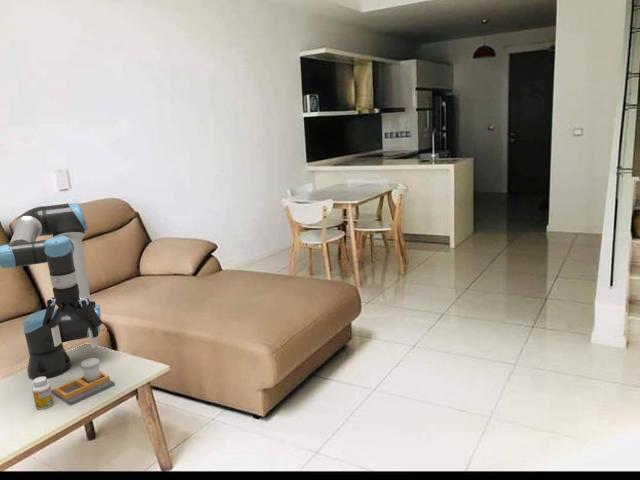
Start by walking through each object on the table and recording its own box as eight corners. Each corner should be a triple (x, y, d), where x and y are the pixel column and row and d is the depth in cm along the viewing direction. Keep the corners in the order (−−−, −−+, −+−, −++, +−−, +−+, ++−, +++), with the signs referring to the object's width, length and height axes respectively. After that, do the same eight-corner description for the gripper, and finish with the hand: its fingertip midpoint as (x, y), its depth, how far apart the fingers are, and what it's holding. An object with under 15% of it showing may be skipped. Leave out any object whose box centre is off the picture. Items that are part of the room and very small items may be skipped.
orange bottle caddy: (51, 393, 184) (47, 370, 182) (94, 374, 196) (91, 352, 194) (70, 405, 175) (66, 381, 173) (114, 385, 187) (110, 362, 185)
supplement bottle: (35, 404, 178) (30, 378, 175) (53, 399, 180) (48, 373, 178) (36, 411, 173) (30, 385, 171) (54, 406, 175) (48, 380, 173)
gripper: (22, 288, 167) (35, 349, 173) (93, 289, 163) (104, 351, 168) (38, 280, 174) (50, 339, 180) (106, 281, 170) (116, 341, 175)
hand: (76, 345), depth 174 cm, fingers open, 13 cm apart
